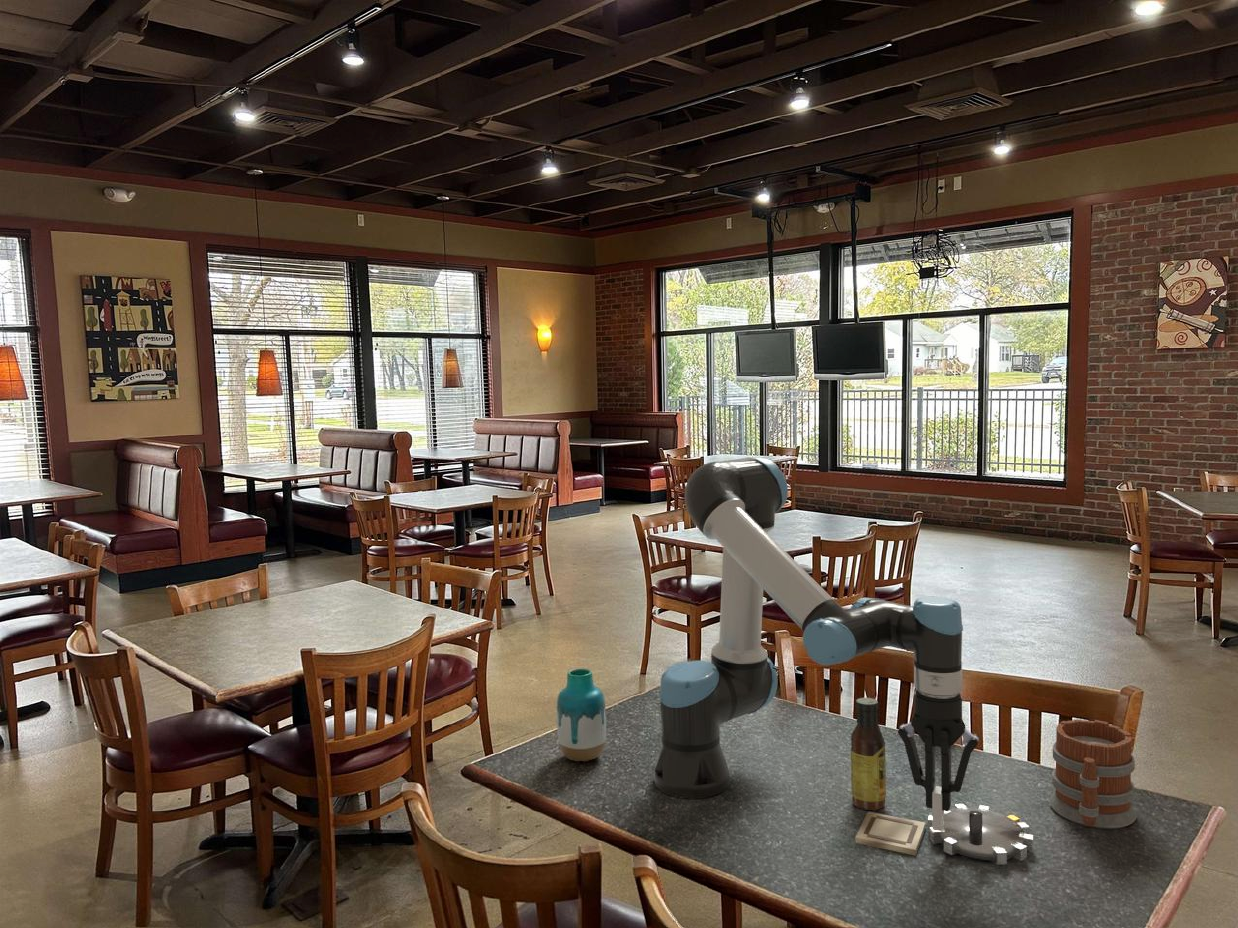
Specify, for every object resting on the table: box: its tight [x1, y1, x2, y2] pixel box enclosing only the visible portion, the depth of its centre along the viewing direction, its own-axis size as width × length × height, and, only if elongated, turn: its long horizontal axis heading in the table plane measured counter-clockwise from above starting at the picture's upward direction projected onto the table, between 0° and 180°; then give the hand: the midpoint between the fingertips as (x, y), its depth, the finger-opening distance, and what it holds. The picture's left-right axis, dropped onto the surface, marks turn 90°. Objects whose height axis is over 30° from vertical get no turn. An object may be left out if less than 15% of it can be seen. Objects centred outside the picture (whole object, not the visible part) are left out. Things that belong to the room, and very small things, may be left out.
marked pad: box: [854, 811, 926, 856], centre depth 154 cm, size 10×10×1 cm
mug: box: [1048, 719, 1138, 830], centre depth 157 cm, size 14×19×15 cm
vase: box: [556, 667, 607, 762], centre depth 189 cm, size 11×11×19 cm
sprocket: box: [927, 803, 1034, 865], centre depth 151 cm, size 17×16×7 cm
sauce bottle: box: [850, 697, 887, 811], centre depth 165 cm, size 7×6×20 cm
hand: (938, 826), depth 148 cm, fingers closed
